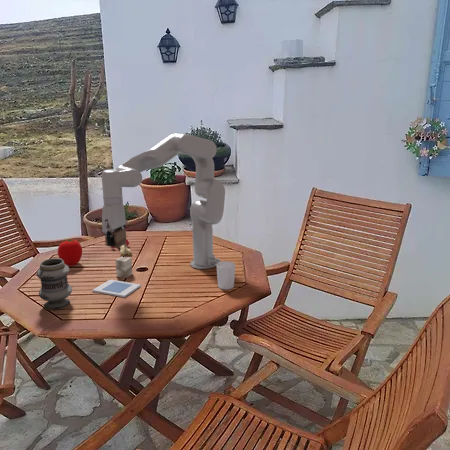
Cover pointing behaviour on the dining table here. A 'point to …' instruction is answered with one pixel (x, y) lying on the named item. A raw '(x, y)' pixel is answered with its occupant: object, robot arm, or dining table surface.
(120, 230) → the walnut cube
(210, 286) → the dining table surface
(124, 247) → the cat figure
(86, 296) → the dining table surface
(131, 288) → the board
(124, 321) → the dining table surface
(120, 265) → the ash pillar
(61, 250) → the tomato
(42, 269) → the apothecary jar
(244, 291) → the dining table surface
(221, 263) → the white cup
